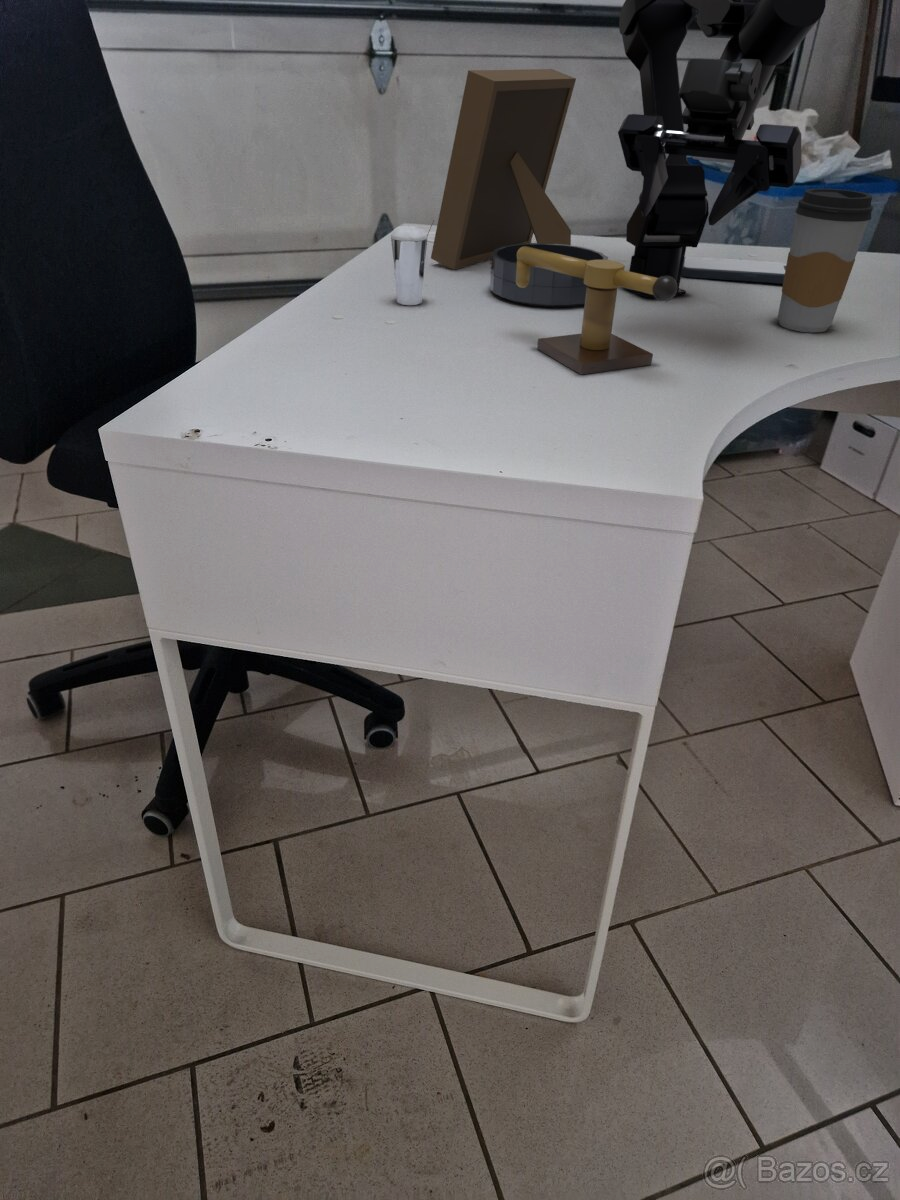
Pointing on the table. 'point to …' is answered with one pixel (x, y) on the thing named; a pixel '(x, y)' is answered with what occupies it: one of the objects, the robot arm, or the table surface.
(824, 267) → the coffee cup
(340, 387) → the table surface
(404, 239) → the milkshake
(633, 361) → the faucet base
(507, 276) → the basin
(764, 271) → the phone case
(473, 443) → the table surface
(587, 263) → the faucet
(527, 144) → the photo frame
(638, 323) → the table surface
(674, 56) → the robot arm
